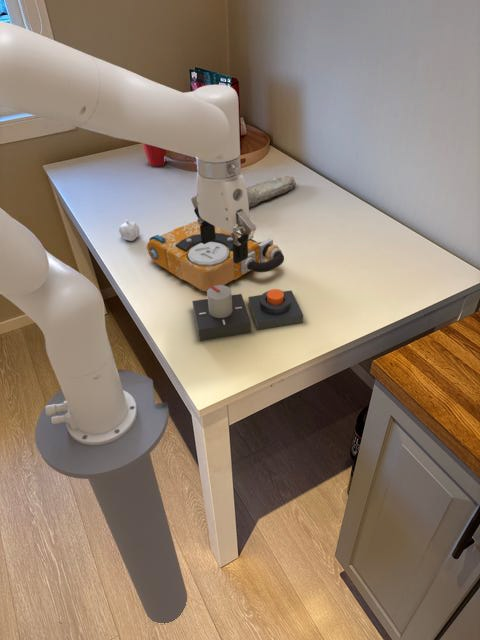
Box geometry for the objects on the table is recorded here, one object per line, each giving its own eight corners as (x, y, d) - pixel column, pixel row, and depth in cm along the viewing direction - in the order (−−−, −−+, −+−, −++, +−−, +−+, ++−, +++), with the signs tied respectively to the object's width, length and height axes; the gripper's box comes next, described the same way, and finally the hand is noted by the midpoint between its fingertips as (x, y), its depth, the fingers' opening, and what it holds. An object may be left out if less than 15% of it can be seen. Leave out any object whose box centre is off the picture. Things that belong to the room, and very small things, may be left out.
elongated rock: (303, 193, 155) (282, 185, 161) (304, 177, 152) (282, 169, 158) (215, 224, 137) (195, 213, 144) (213, 206, 134) (193, 196, 141)
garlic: (122, 233, 137) (118, 216, 133) (141, 231, 137) (138, 215, 134) (120, 244, 132) (116, 227, 129) (140, 242, 132) (136, 225, 129)
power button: (269, 306, 103) (269, 300, 102) (265, 296, 106) (265, 290, 105) (285, 304, 104) (285, 297, 102) (281, 294, 106) (281, 288, 105)
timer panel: (199, 340, 101) (198, 329, 99) (193, 311, 109) (192, 300, 107) (251, 332, 102) (250, 321, 100) (241, 304, 110) (241, 292, 108)
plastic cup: (174, 167, 171) (169, 133, 163) (143, 171, 170) (137, 136, 162) (171, 156, 179) (167, 123, 171) (142, 159, 178) (136, 126, 170)
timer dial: (237, 310, 103) (236, 290, 100) (219, 321, 101) (217, 301, 97) (221, 300, 106) (220, 280, 103) (204, 310, 104) (202, 290, 100)
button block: (257, 329, 103) (257, 315, 100) (248, 304, 110) (248, 290, 107) (302, 322, 104) (303, 308, 102) (291, 297, 111) (291, 283, 108)
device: (208, 203, 131) (292, 241, 114) (211, 230, 136) (291, 270, 119) (140, 234, 119) (222, 282, 102) (145, 262, 125) (224, 312, 108)
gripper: (269, 173, 80) (269, 260, 91) (204, 146, 90) (211, 228, 101) (235, 187, 76) (239, 276, 87) (171, 157, 87) (182, 241, 97)
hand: (224, 250), depth 94 cm, fingers open, 9 cm apart
